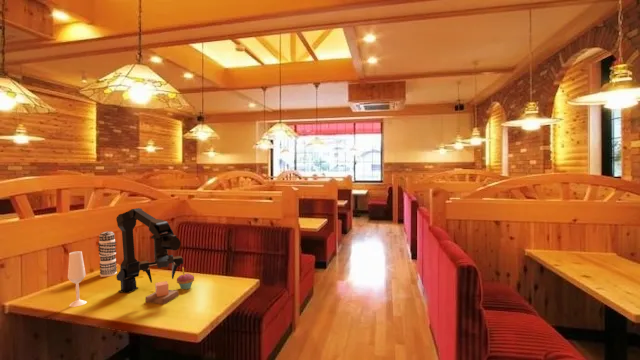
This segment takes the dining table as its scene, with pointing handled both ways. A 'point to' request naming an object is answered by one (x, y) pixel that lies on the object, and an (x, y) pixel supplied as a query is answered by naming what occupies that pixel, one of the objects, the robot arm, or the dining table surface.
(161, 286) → the cube
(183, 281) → the cupcake
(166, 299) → the base
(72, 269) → the champagne flute
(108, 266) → the decorative candle
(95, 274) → the dining table surface
